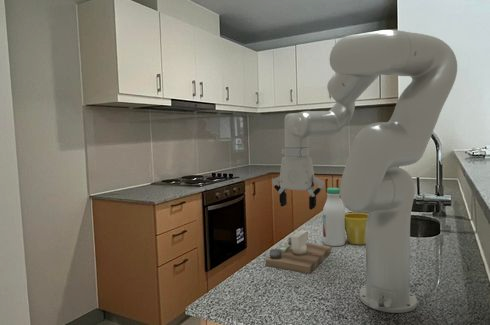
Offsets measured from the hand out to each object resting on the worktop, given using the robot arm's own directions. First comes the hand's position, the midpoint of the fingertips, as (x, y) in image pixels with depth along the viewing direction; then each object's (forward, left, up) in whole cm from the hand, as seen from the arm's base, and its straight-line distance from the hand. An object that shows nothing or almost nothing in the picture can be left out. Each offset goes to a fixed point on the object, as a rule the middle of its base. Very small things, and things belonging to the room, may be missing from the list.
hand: (297, 207), depth 112 cm
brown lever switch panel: (0, 0, -17) cm, 17 cm away
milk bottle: (+20, -6, -17) cm, 27 cm away
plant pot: (+25, -13, -17) cm, 32 cm away
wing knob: (0, 0, -15) cm, 14 cm away
